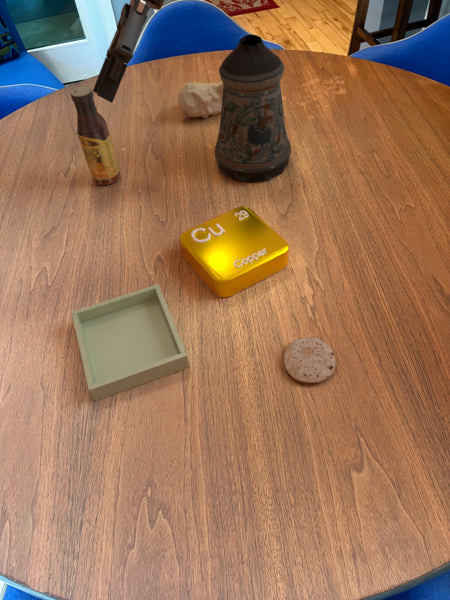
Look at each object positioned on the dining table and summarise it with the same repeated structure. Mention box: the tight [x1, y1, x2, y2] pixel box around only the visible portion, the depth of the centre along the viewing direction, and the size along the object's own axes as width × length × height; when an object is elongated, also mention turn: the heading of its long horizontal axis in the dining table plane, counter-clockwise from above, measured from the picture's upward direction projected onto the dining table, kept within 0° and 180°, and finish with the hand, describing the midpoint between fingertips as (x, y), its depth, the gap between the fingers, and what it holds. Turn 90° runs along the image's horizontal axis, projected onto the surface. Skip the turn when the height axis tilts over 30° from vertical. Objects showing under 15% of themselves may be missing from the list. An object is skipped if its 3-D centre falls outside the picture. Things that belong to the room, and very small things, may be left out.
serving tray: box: [70, 283, 191, 402], centre depth 74 cm, size 16×15×3 cm
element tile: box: [179, 205, 290, 299], centre depth 85 cm, size 15×15×5 cm
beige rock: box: [177, 79, 223, 119], centre depth 119 cm, size 15×7×15 cm
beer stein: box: [214, 33, 292, 184], centre depth 97 cm, size 16×19×25 cm
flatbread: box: [283, 336, 336, 384], centre depth 71 cm, size 8×8×1 cm
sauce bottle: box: [70, 85, 121, 186], centre depth 98 cm, size 6×6×20 cm
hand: (101, 96), depth 86 cm, fingers open, 13 cm apart
